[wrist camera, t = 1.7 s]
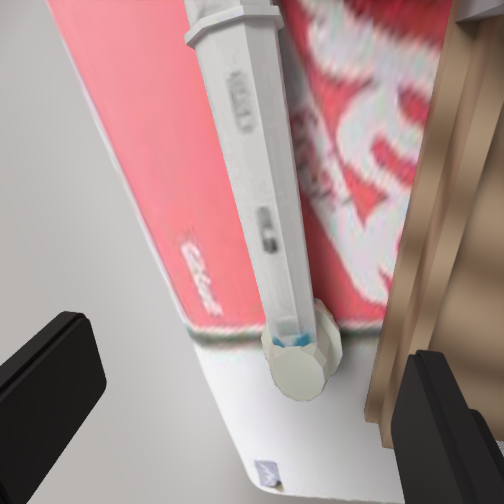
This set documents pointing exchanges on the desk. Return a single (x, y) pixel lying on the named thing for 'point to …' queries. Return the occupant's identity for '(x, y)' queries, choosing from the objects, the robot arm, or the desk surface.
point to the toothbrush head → (265, 183)
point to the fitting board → (454, 229)
